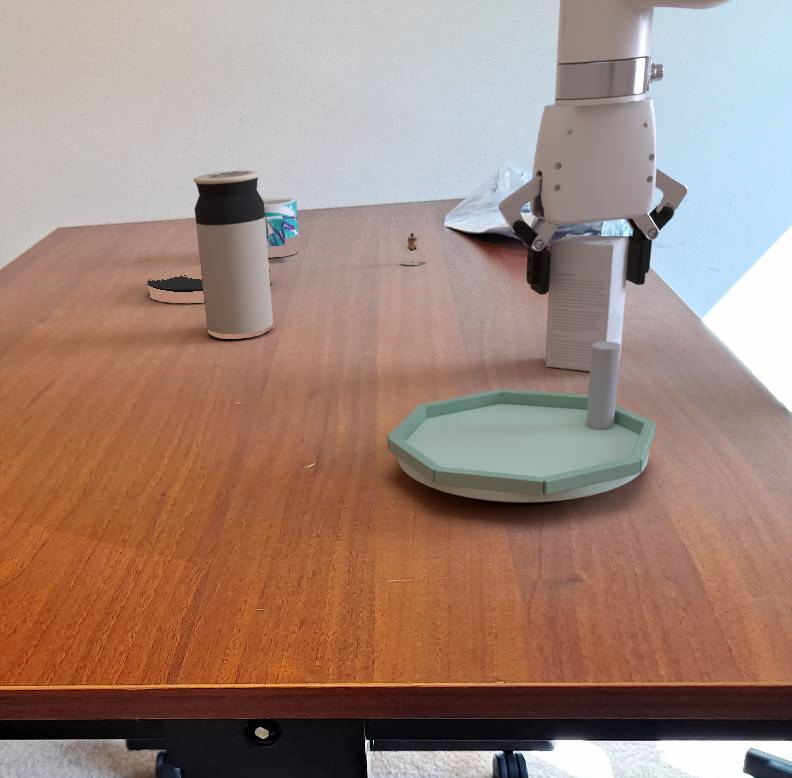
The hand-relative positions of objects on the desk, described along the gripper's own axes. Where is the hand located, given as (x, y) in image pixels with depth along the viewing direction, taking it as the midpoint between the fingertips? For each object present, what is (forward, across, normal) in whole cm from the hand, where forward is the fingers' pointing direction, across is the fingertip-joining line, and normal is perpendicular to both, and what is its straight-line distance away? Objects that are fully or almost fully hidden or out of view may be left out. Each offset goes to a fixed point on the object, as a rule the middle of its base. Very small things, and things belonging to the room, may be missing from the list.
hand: (586, 286), depth 92 cm
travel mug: (+8, +32, -26) cm, 42 cm away
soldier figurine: (+8, +4, -56) cm, 57 cm away
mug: (+8, +23, -73) cm, 77 cm away
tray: (+6, +14, +24) cm, 28 cm away
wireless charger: (+8, +35, -52) cm, 63 cm away
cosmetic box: (+8, 0, 0) cm, 8 cm away
